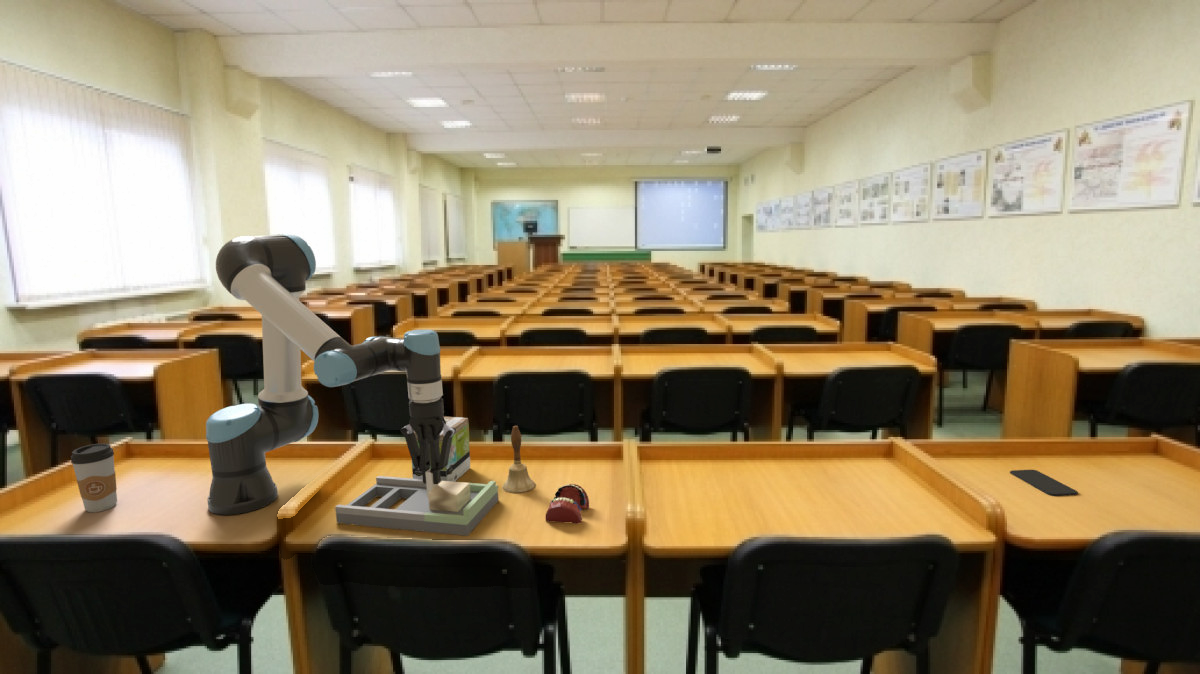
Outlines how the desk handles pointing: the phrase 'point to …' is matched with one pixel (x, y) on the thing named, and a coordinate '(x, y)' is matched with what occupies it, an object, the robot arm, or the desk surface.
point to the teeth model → (568, 504)
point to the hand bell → (517, 468)
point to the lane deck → (416, 507)
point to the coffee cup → (95, 476)
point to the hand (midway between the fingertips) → (433, 496)
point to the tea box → (453, 451)
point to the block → (449, 496)
